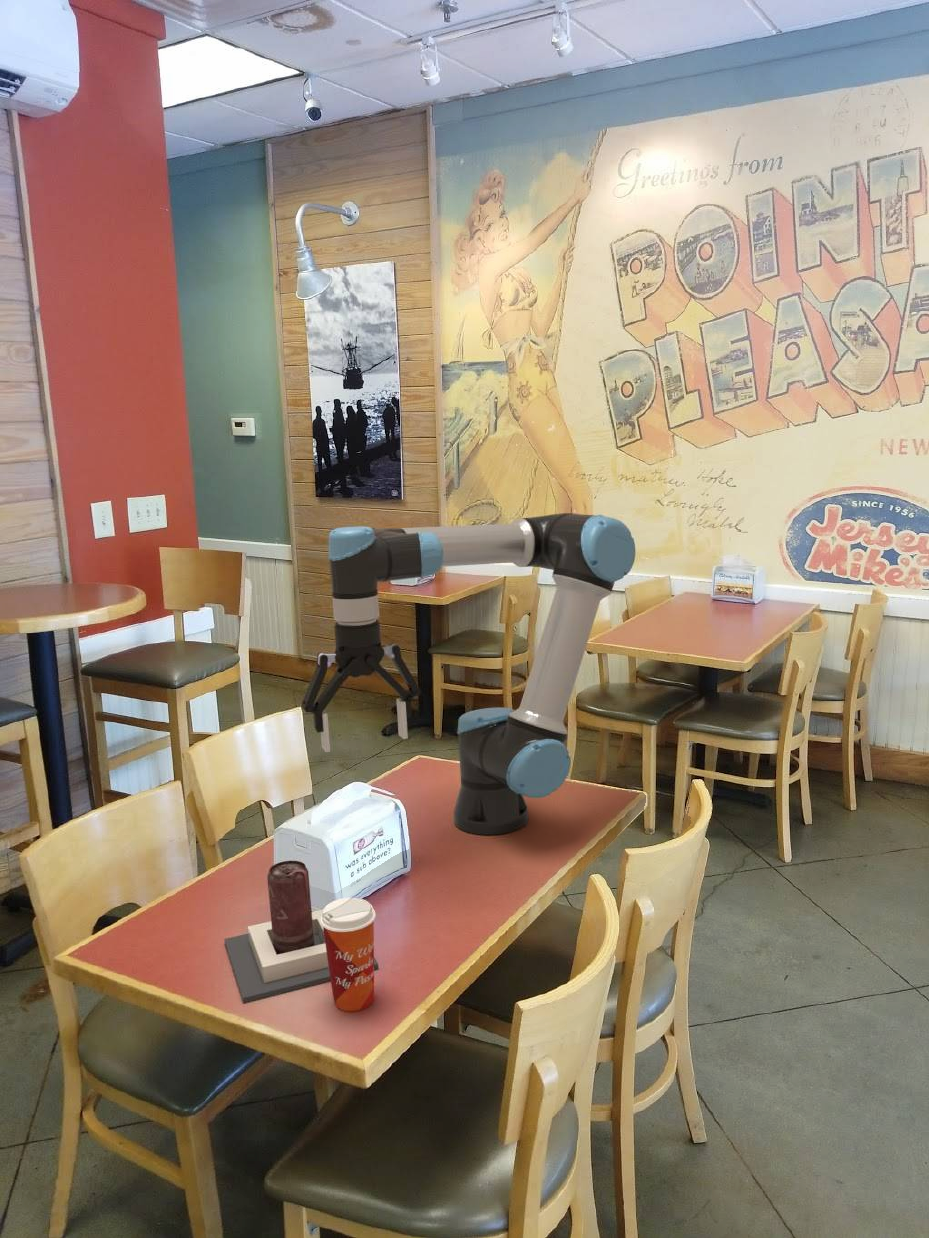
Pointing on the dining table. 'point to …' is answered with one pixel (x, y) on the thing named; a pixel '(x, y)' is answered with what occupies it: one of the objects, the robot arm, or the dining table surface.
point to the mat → (252, 978)
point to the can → (290, 906)
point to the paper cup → (350, 952)
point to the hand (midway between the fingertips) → (365, 743)
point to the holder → (287, 962)
